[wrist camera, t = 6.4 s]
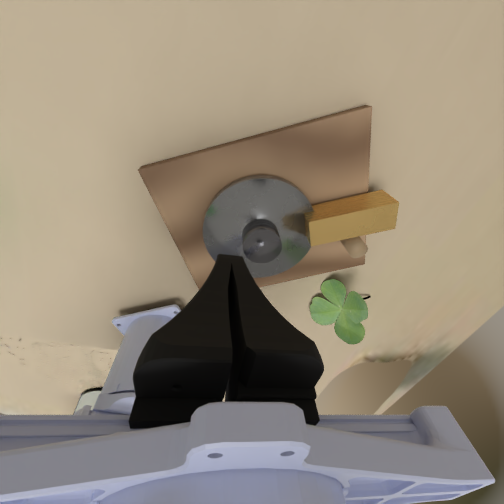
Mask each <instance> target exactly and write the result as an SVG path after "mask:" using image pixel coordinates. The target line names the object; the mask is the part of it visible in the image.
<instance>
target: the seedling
mask: <svg viewBox="0 0 504 504" xmlns="http://www.w3.org/2000/svg"><path fill="white" fill-rule="evenodd" d="M321 291H322V293H323V295H324V296H325V297H326V298H327V299H328V300H329V301H330V302H332V303H333V304H332V303H330V302H329V301H327V300H326V299H323V298H320V297H315V298H313V300H312V304H311V305H310V312H311V317H312V319H313V320H314V321H315V322H316V323H318V324H320V325H330V324H332V323H335V327H334V329H335V332H336V334H337V336H338V337H339V338H341V339H342V340H343V341H345V342H346V343H348V344H357V343H359V342H360V341H362V340H363V338H364V335H365V329H364V327H363V325H362V324H361V323H360V322H361V321H363V320H365V319H367V317H368V308H367V305H366V303H365V301H364V299H368V298H370V297H371V296H368V297H365V298H362V297H361V295H359V294H358V293H357V292H354V291H351V292H349V294H348V295H347V298H346V300H345V296H346V289H345V286H344V284H343V283H341V282H340V281H338V280H335V279H331V280H327V281H324V282H323V283H322V285H321ZM344 300H345V303H344ZM343 304H344V305H343ZM335 305H336V306H335ZM338 316H339V317H338ZM337 318H338V319H337ZM335 321H336V322H335Z"/></svg>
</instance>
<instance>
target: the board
mask: <svg viewBox="0 0 504 504" xmlns="http://www.w3.org/2000/svg"><path fill="white" fill-rule="evenodd" d="M371 116H372V106H368V105H364V106H361V107H357V108H353V109H350V110H346V111H342V112H339V113H335V114H331V115H328V116H324V117H320V118H317V119H313V120H309V121H306V122H302V123H298V124H295V125H291V126H287V127H284V128H280V129H276V130H273V131H269V132H265V133H262V134H258V135H254V136H251V137H247V138H243V139H240V140H236V141H233V142H229V143H225V144H222V145H218V146H214V147H211V148H207V149H203V150H200V151H196V152H192V153H189V154H185V155H181V156H178V157H174V158H170V159H167V160H163V161H159V162H156V163H152V164H148V165H145V166H142V167H141V168H139V169H138V171H139V173H140V175H141V177H142V179H143V181H144V183H145V185H146V187H147V189H148V191H149V193H150V195H151V197H152V199H153V201H154V202H155V204H156V206H157V208H158V210H159V212H160V214H161V216H162V218H163V220H164V222H165V224H166V226H167V228H168V230H169V232H170V234H171V236H172V238H173V239H174V241H175V243H176V245H177V247H178V249H179V251H180V253H181V255H182V257H183V259H184V261H185V263H186V265H187V267H188V269H189V271H190V273H191V275H192V276H193V278H194V280H195V282H196V284H197V286H198V288H199V290H200V288H201V287H202V286H203V284H204V283H205V281H206V280H207V278H208V276H209V275H210V273H211V271H212V269H213V267H214V265H215V261H214V260H213V258H212V257H211V256H210V254H209V253H208V251H207V249H206V247H205V243H204V240H203V223H204V217H205V214H206V210H207V208H208V206H209V204H210V202H211V201H212V199H213V198H214V196H215V195H216V194H217V193H218V192H219V191H220V190H221V189H223V188H224V187H225V186H227V185H228V184H230V183H231V182H233V181H236V180H238V179H240V178H244V177H247V176H253V175H271V176H276V177H280V178H282V179H285V180H287V181H289V182H291V183H292V184H294V185H295V186H297V187H298V188H299V189H300V190H301V191H302V192H303V193H304V194H305V196H306V197H307V199H308V200H309V202H310V204H311V205H316V204H321V203H325V202H330V201H334V200H339V199H343V198H348V197H352V196H356V195H361V194H365V193H368V181H369V159H370V138H371ZM367 250H368V247H367V245H366V235H363V236H358V237H353V238H349V239H344V240H339V241H335V242H330V243H325V244H321V245H316V246H311V248H310V250H309V251H308V253H307V254H306V255H305V256H304V258H303V259H302V260H301V261H300V262H298V263H297V264H296V265H295V266H293V267H292V268H290V269H288V270H286V271H284V272H282V273H279V274H277V275H273V276H269V277H261V278H253V279H254V280H255V282H256V284H257V285H258V287H263V286H267V285H272V284H277V283H281V282H286V281H290V280H295V279H299V278H304V277H308V276H313V275H317V274H322V273H326V272H331V271H336V270H340V269H345V268H349V267H354V266H358V265H363V264H365V254H366V252H367Z"/></svg>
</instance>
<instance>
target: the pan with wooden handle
mask: <svg viewBox="0 0 504 504" xmlns="http://www.w3.org/2000/svg"><path fill="white" fill-rule="evenodd" d="M398 206H399V202H398V201H397V200H395V199H394V198H393V197H391V196H390V195H389V194H387V193H386V192H385V191H383V190H379V191H374V192H370V193H365V194H361V195H356V196H352V197H348V198H343V199H339V200H334V201H330V202H325V203H321V204H316V205H311V204H310V202H309V200H308V199H307V197H306V196H305V194H304V193H303V192H302V191H301V190H300V189H299V188H298V187H297V186H295V185H294V184H292V183H291V182H289V181H287V180H285V179H282V178H280V177H276V176H271V175H253V176H247V177H244V178H240V179H238V180H236V181H233V182H231V183H230V184H228V185H227V186H225V187H224V188H223V189H221V190H220V191H219V192H218V193H217V194H216V195H215V196H214V198H213V199H212V201H211V202H210V204H209V206H208V208H207V210H206V214H205V217H204V223H203V240H204V243H205V247H206V249H207V251H208V253H209V254H210V256H211V257H212V258H213V260H214V261H215V262H216V259H217V255H219V254H226V255H235V256H242V257H243V258H244V261H245V263H246V265H247V267H248V269H249V271H250V273H251V275H252V277H253V278H261V277H269V276H273V275H277V274H279V273H282V272H284V271H286V270H288V269H290V268H292V267H293V266H295V265H296V264H297V263H298V262H300V261H301V260H302V259H303V258H304V256H305V255H306V254H307V253H308V251H309V250H310V248H311V246H316V245H321V244H325V243H330V242H335V241H339V240H344V239H349V238H353V237H358V236H363V235H368V234H372V233H377V232H382V231H386V230H391V229H395V226H396V219H397V213H398Z"/></svg>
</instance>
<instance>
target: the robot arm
mask: <svg viewBox="0 0 504 504" xmlns="http://www.w3.org/2000/svg"><path fill="white" fill-rule="evenodd" d="M176 311H177V312H176ZM112 323H113V324H114V325H115V326H116V327H117V328H118V329H119V331H120V332H121V333H122V334H123V335H124V338H123V340H122V343H121V345H120V348H119V350H118V352H117V355H116V357H115V360H114V362H113V365H112V367H111V369H110V372H109V374H108V377H107V379H106V381H105V384H104V386H103V389H102V391H101V393H100V394H99V396H98V398H97V401H96V403H95V405H94V408H93V410H90V409H91V407H92V406H90V405H85V406H84V407H83V408H82V409H79V410H78V411H76V412H75V413H74V415H0V504H410V503H419V502H429V501H441V500H452V499H454V498H457V497H459V496H462V495H464V494H467V493H469V492H472V491H474V490H477V489H480V488H482V487H485V486H487V485H490V484H492V483H494V482H495V479H494V477H493V476H492V474H491V473H490V472H489V470H488V468H487V467H486V465H485V464H484V462H483V461H482V459H481V458H480V456H479V455H478V453H477V452H476V450H475V449H474V448H473V446H472V444H471V443H470V441H469V440H468V438H467V437H466V435H465V434H464V432H463V431H462V429H461V428H460V426H459V425H458V423H457V422H456V420H455V419H454V417H453V416H452V414H451V412H450V411H449V409H448V408H447V407H446V406H421V407H418V408H416V409H415V410H414V411H412V412H411V414H410V415H318V411H317V408H316V403H315V399H316V392H315V388H314V387H315V385H316V383H317V382H318V380H319V379H320V377H321V376H322V374H323V371H324V365H323V362H322V359H321V356H320V354H319V351H318V349H317V347H316V345H315V342H314V341H312V340H311V339H309V338H308V337H307V336H305V335H304V334H303V333H301V332H300V331H299V330H297V329H296V328H295V327H294V326H293V325H291V324H290V323H289V322H288V321H287V320H286V319H285V318H284V317H283V316H282V315H281V314H280V313H279V312H278V311H277V310H276V309H275V308H274V307H273V306H272V304H271V303H270V302H269V301H268V300H267V298H266V297H265V296H264V294H263V293H262V291H261V290H260V288H259V287H258V285H257V284H256V282H255V280H254V279H253V277H252V275H251V273H250V271H249V269H248V267H247V265H246V263H245V261H244V258H243V257H242V256H235V255H226V254H219V255H217V259H216V262H215V265H214V267H213V269H212V271H211V273H210V275H209V276H208V278H207V280H206V281H205V283H204V284H203V286H202V287H201V288H200V290H199V291H198V292H197V294H196V295H195V296H194V297H193V299H192V300H191V301H190V302H189V303H188V304H187V305H186V306H185V307H184V308H183V309H182V310H181V309H180V308H179V306H178V305H175V304H173V305H169V306H164V307H160V308H155V309H151V310H146V311H141V312H137V313H132V314H128V315H123V316H119V317H115V318H113V320H112ZM225 391H226V394H225ZM224 395H225V402H222V400H223V398H224Z"/></svg>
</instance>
